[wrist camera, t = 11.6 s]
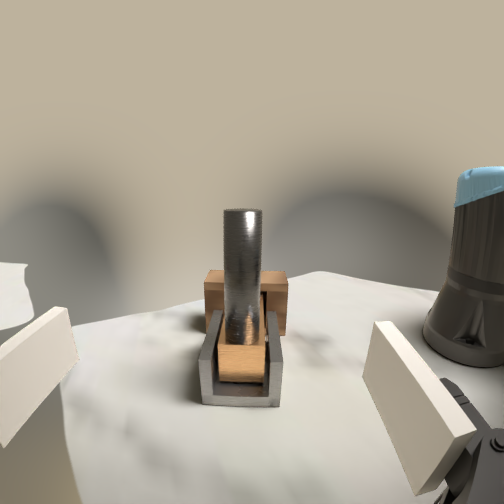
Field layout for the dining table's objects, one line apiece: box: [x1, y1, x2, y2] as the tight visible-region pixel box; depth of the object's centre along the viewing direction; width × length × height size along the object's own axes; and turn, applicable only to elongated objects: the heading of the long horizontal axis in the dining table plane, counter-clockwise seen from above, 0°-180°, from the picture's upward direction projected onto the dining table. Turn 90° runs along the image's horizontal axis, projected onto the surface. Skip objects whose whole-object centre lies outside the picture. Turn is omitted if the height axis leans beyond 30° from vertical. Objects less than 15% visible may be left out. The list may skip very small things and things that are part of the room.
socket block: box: [204, 270, 288, 335], centre depth 39 cm, size 10×5×7 cm, turn 89°
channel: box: [198, 310, 283, 407], centre depth 28 cm, size 7×10×5 cm
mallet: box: [218, 209, 265, 382], centre depth 31 cm, size 4×15×15 cm, turn 179°
